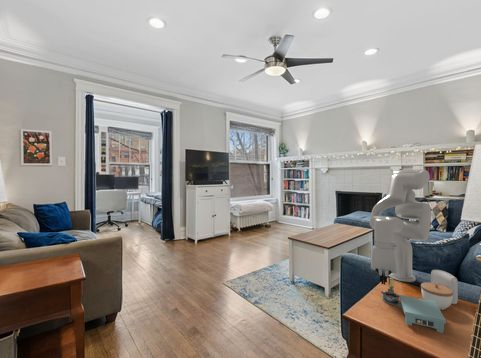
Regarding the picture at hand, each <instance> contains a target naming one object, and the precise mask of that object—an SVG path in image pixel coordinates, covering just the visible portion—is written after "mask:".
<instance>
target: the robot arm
mask: <svg viewBox="0 0 481 358" xmlns="http://www.w3.org/2000/svg"><path fill="white" fill-rule="evenodd" d="M430 179H431V177H430V172H429V171H428V170H426V169H398V170H394V171H393V172H392V174H391V177H390V179H389V182H388V183H389V184H388V186H387V189H386V190H387V191H386V194H385V197H384V198H382V199H380V200H379V201H378V202H377V203H376V204H375V205H374V206H373V207H372V210H371V213H370V217H369V226H370V227H371V228H372V229H373V231H374V234H373V235H374V245H372V248H371V255H370V256H371V258H370V261H371V262H370V269H371V270H373V271H376V272H377V274H378V275H379V282H380V283H381V285H384V286H385V285H386V283H388V277H389V278H392V279H394V280H395V281H398V282H404V283H413V282H416V276H415V275H413V245H412V243H411V242H410V240H413V241H422V242H424V241H427V240H428V239H429V236H430V230H431V217H432V209H431V206H430V205H429V204H428V203H426V202H420V201H416V193H415V190H419V191H420V190H422V189H423V188H425V187H426V186H427V185H428V184H429V181H430ZM393 207H395V208H394V209H395V210H394V213H395V214H394V215H396V216H389V215H381V213H383V211H385V210H387V209H391V208H393ZM404 219H405V220H404ZM408 219H409V220H408ZM412 220H413V221H412ZM383 271H384V273H383Z"/></svg>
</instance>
